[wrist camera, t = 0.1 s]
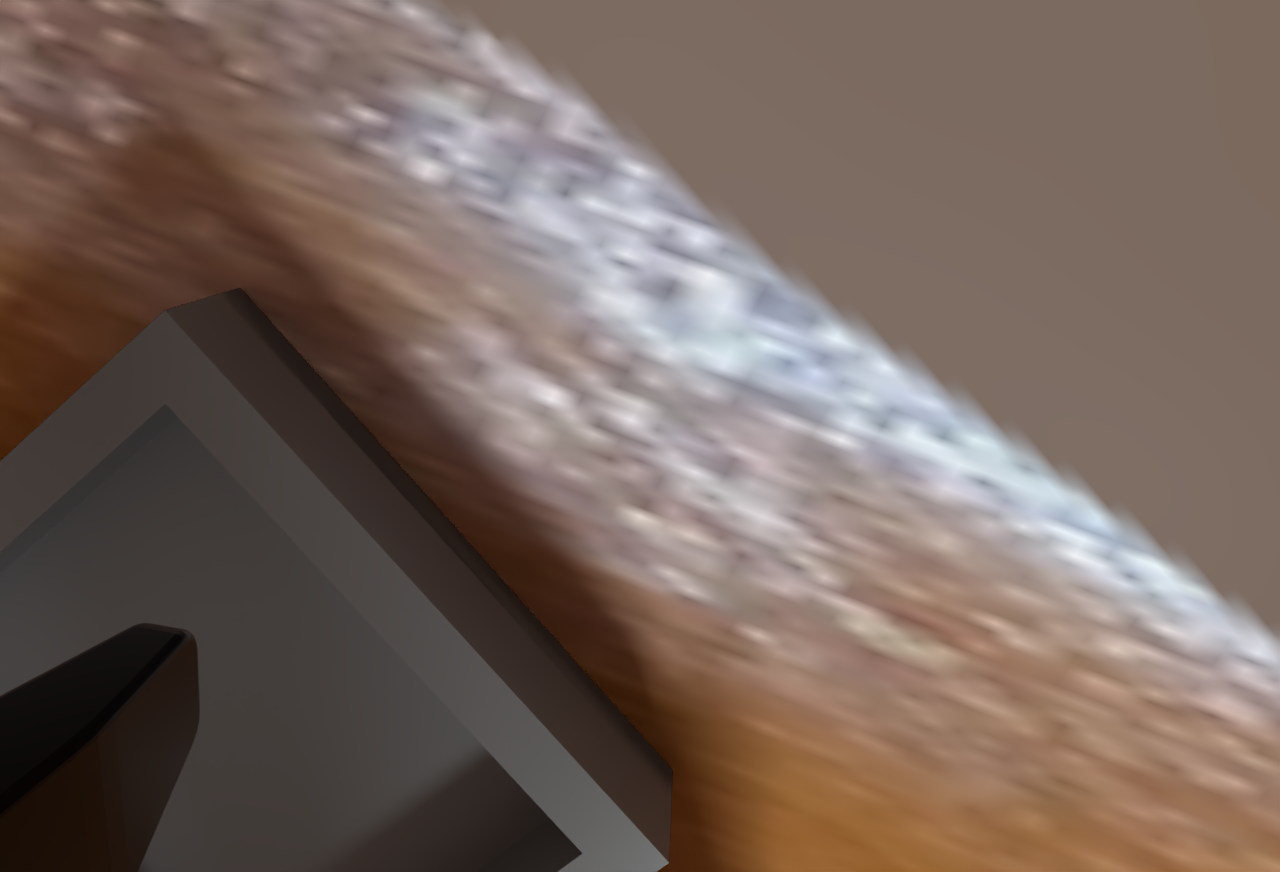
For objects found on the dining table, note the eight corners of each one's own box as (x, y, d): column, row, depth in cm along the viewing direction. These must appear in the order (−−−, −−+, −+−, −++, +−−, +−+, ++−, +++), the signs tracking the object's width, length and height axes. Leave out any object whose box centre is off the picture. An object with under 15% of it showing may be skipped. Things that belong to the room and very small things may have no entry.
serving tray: (263, 1067, 29) (204, 1191, 25) (-163, 653, 26) (-290, 727, 23) (673, 770, 26) (669, 862, 23) (240, 287, 24) (164, 310, 21)
